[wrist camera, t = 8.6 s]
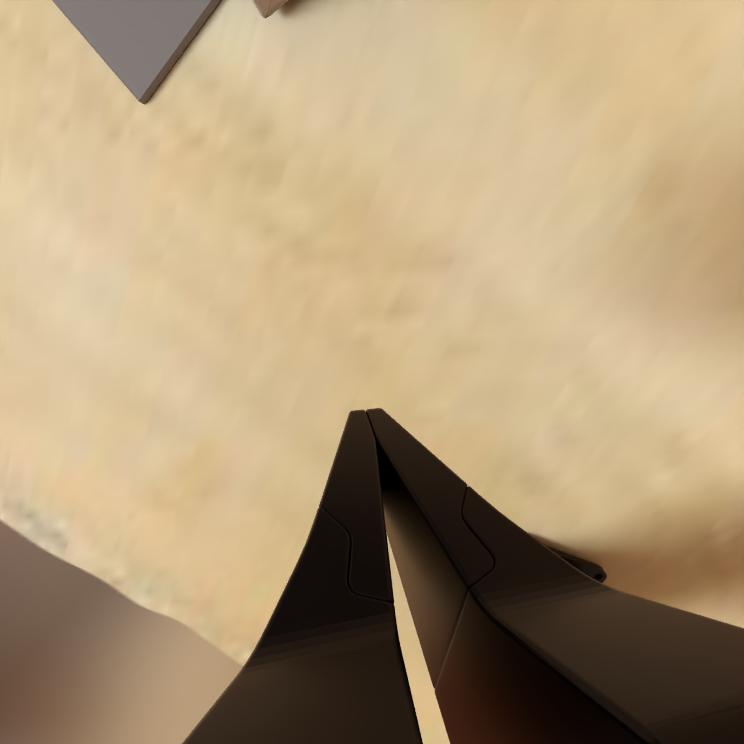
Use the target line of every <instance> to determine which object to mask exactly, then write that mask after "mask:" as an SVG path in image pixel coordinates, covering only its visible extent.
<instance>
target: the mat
mask: <svg viewBox="0 0 744 744" xmlns="http://www.w3.org/2000/svg"><path fill="white" fill-rule="evenodd" d="M52 1H53V2H54V3H55V4H56V5H57V7H58V8H59V9H60V10H61V11H62V12H63V14H64V15H65V16H66V17H67V18H68V19H69V20H70V22H71V23H72V24H73V25H74V26H75V27H76V29H77V30H78V31H79V32H80V33H81V34H82V36H83V37H84V38H85V39H86V40H87V41H88V43H89V44H90V45H91V46H92V47H93V48H94V50H95V51H96V52H97V53H98V54H99V55H100V57H101V58H102V59H103V60H104V61H105V62H106V64H107V65H108V66H109V67H110V68H111V69H112V71H113V72H114V73H115V74H116V75H117V76H118V78H119V79H120V80H121V81H122V82H123V83H124V85H125V86H126V87H127V88H128V89H129V90H130V92H131V93H132V94H133V95H134V96H135V97H136V99H137V100H138V101H139V102H141V103H143V104H145V103H146V102H147V100H148V99H149V98H150V96H151V95H152V94H153V92H154V91H155V90H156V88H157V87H158V85H159V84H160V83H161V81H162V80H163V79H164V77H165V76H166V74H167V73H168V72H169V70H170V69H171V68H172V66H173V65H174V64H175V62H176V61H177V59H178V58H179V57H180V55H181V54H182V53H183V51H184V50H185V48H186V47H187V46H188V44H189V43H190V42H191V40H192V39H193V38H194V36H195V35H196V33H197V32H198V31H199V29H200V28H201V27H202V25H203V24H204V22H205V21H206V20H207V18H208V17H209V16H210V14H211V13H212V12H213V10H214V9H215V7H216V6H217V5H218V3H219V2H220V1H221V0H52Z"/></svg>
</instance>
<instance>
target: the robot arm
mask: <svg viewBox="0 0 744 744" xmlns="http://www.w3.org/2000/svg"><path fill="white" fill-rule="evenodd" d="M386 532H387V534H386ZM387 535H388V538H389V542H390V545H391V548H392V552H393V555H394V558H395V562H396V565H397V568H398V572H399V575H400V578H401V582H402V585H403V588H404V592H405V595H406V598H407V601H408V605H409V608H410V611H411V615H412V618H413V621H414V625H415V628H416V631H417V635H418V638H419V641H420V645H421V648H422V651H423V654H424V658H425V661H426V664H427V668H428V671H429V674H430V678H431V681H432V684H433V687H434V688H435V695H436V698H437V701H438V705H439V708H440V711H441V714H442V718H443V721H444V724H445V728H446V731H447V734H448V738H449V741H450V744H744V628H741V627H737V626H734V625H731V624H727V623H724V622H721V621H717V620H714V619H711V618H707V617H704V616H701V615H697V614H694V613H691V612H687V611H684V610H681V609H677V608H674V607H671V606H667V605H664V604H661V603H658V602H654V601H651V600H648V599H644V598H641V597H638V596H634V595H631V594H628V593H624V592H621V591H618V590H615V589H613V588H610V587H608V586H606V585H604V584H602V583H603V582H604V580H605V579H606V577H607V576H606V573H605V572H604V570H603V569H602V567H600V566H598V565H595V564H593V563H590V562H587V561H584V560H582V559H579V558H576V557H574V556H571V555H568V554H566V553H563V552H560V551H557V550H555V549H552V548H549V547H547V546H545V545H543V544H542V543H541V542H539V541H538V540H537V539H535V538H534V537H532V536H531V535H530V534H528V533H527V532H526V531H524V530H523V529H521V528H520V527H519V526H517V525H516V524H515V523H514V522H512V521H511V520H510V519H508V518H507V517H506V516H504V515H503V514H502V513H500V512H499V511H498V510H497V509H496V508H494V507H493V506H492V505H491V504H490V503H488V502H487V501H486V500H485V499H484V498H482V497H481V496H480V495H479V494H478V493H477V492H476V491H474V490H473V489H472V488H471V487H470V486H468V487H467V484H466V483H465V482H464V481H463V480H462V479H461V478H460V477H458V476H457V475H456V474H455V473H454V472H453V471H452V470H451V469H449V468H448V467H447V466H446V465H445V464H444V463H443V462H442V461H440V460H439V459H438V458H437V457H436V456H435V455H434V454H432V453H431V452H430V451H429V450H428V449H427V448H426V447H425V446H423V445H422V444H421V443H420V442H419V441H418V440H417V439H415V438H414V437H413V436H412V435H411V434H410V433H409V432H408V431H406V430H405V429H404V428H403V427H402V426H401V425H400V424H399V423H397V422H396V421H395V420H394V419H393V418H392V417H391V416H389V415H388V414H387V413H386V412H385V411H384V410H383V409H381V408H375V409H367V410H366V411H365V410H355V411H351V412H350V413H349V416H348V419H347V422H346V425H345V428H344V431H343V434H342V437H341V440H340V443H339V447H338V450H337V453H336V456H335V459H334V462H333V465H332V468H331V471H330V474H329V477H328V480H327V483H326V486H325V489H324V492H323V496H322V499H321V502H320V505H319V508H318V510H317V513H316V516H315V519H314V522H313V525H312V528H311V531H310V533H309V536H308V539H307V541H306V544H305V546H304V548H303V551H302V553H301V555H300V557H299V560H298V562H297V564H296V566H295V568H294V571H293V573H292V575H291V577H290V579H289V581H288V583H287V585H286V587H285V589H284V591H283V593H282V595H281V597H280V599H279V601H278V603H277V606H276V608H275V610H274V612H273V614H272V616H271V618H270V620H269V622H268V624H267V626H266V628H265V630H264V632H263V634H262V636H261V638H260V640H259V642H258V643H257V645H256V647H255V649H254V651H253V652H252V654H251V656H250V657H249V659H248V660H247V662H246V664H245V665H244V666H243V668H242V669H241V671H240V672H239V673H238V675H237V676H236V677H235V679H234V680H233V681H232V682H231V684H230V685H229V686H228V687H227V689H226V690H225V691H224V692H223V693H222V695H221V696H220V697H219V698H218V700H217V701H216V702H215V703H214V705H213V706H212V707H211V708H210V710H209V711H208V712H207V713H206V715H205V716H204V717H203V718H202V720H201V721H200V722H199V723H198V725H197V726H196V727H195V728H194V730H193V731H192V732H191V733H190V734H189V736H188V737H187V738H186V739H185V741H184V742H183V743H182V744H423V742H422V738H421V733H420V729H419V725H418V720H417V716H416V712H415V707H414V703H413V699H412V694H411V690H410V686H409V681H408V677H407V673H406V668H405V664H404V660H403V655H402V651H401V647H400V642H399V636H398V630H397V623H396V616H395V607H394V598H393V589H392V580H391V571H390V562H389V552H388V543H387Z"/></svg>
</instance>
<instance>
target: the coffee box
mask: <svg viewBox="0 0 744 744" xmlns="http://www.w3.org/2000/svg"><path fill="white" fill-rule="evenodd" d="M252 1H253V3H254V5H255V6H256V8H257V9H258V11H259V13H260V14H261V16H262V17H263V18H267V17H269V16H270V15H272V14H273V13H274V12H275V11H276V10H277V9H279V8H280V7H281V6H282V5H283V4H285V3H286V2H287V1H288V0H252Z"/></svg>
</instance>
